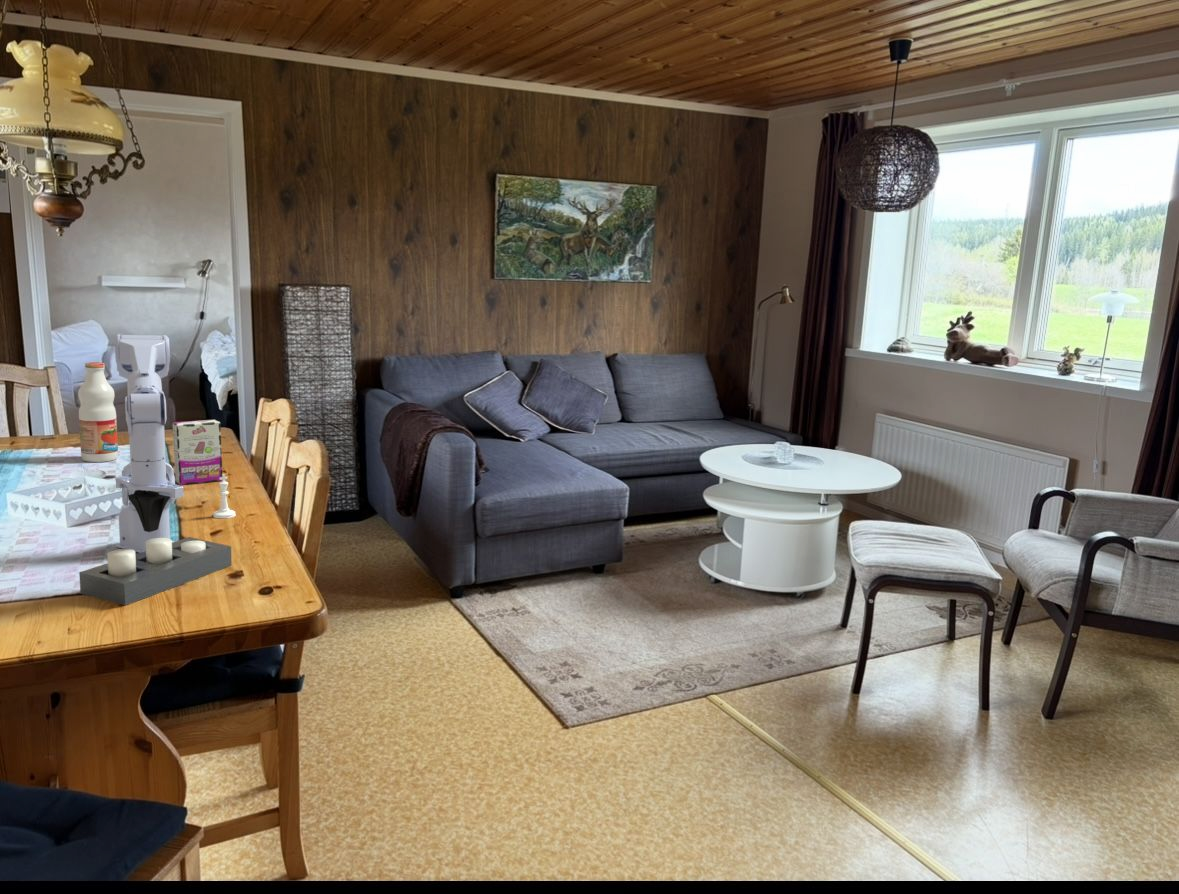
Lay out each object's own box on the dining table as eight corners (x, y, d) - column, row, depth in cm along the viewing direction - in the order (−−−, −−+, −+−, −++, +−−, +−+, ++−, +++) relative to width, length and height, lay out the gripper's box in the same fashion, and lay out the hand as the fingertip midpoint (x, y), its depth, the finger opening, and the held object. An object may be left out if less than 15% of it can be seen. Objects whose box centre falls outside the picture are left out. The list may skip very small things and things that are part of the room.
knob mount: (80, 593, 154) (79, 572, 154) (190, 555, 177) (189, 537, 176) (125, 605, 150) (124, 583, 150) (231, 565, 173) (231, 546, 172)
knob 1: (102, 578, 154) (101, 554, 154) (124, 571, 158) (123, 547, 158) (120, 582, 153) (119, 558, 152) (142, 575, 157) (140, 551, 156)
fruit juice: (87, 455, 254) (81, 360, 249) (122, 455, 257) (117, 361, 251) (76, 462, 246) (70, 364, 240) (113, 462, 248) (108, 365, 242)
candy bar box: (217, 477, 239) (215, 418, 236) (223, 481, 235) (221, 422, 232) (174, 481, 232) (171, 421, 229) (179, 485, 228) (176, 424, 225)
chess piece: (209, 514, 205) (208, 473, 203) (230, 511, 208) (229, 471, 206) (218, 519, 201) (217, 478, 199) (239, 516, 205) (238, 475, 203)
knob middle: (141, 565, 162) (140, 542, 161) (160, 558, 166) (159, 536, 165) (158, 569, 160) (157, 546, 159) (177, 562, 164) (177, 540, 163)
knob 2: (176, 566, 170) (175, 545, 169) (194, 560, 174) (193, 539, 173) (193, 570, 168) (192, 548, 167) (211, 564, 172) (210, 542, 171)
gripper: (99, 457, 156) (103, 529, 159) (159, 467, 151) (162, 542, 154) (132, 450, 163) (136, 520, 165) (191, 460, 158) (194, 532, 160)
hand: (151, 530), depth 160 cm, fingers closed
